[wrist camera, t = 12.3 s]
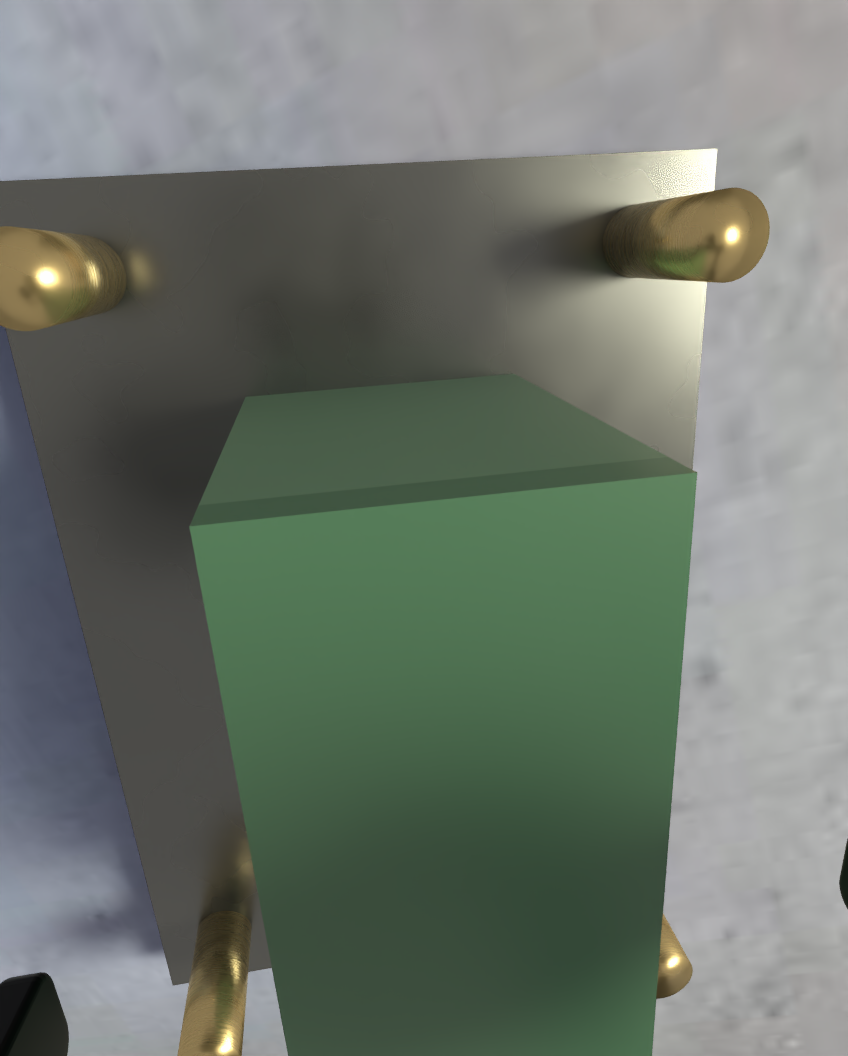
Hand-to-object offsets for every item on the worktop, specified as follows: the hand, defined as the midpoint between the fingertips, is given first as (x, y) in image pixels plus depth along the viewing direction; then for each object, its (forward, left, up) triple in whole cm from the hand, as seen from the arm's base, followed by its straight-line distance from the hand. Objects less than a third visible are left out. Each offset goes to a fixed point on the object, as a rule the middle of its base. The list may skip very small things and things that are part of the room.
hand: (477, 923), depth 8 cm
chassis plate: (0, 0, -8) cm, 8 cm away
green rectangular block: (0, 0, -7) cm, 7 cm away
